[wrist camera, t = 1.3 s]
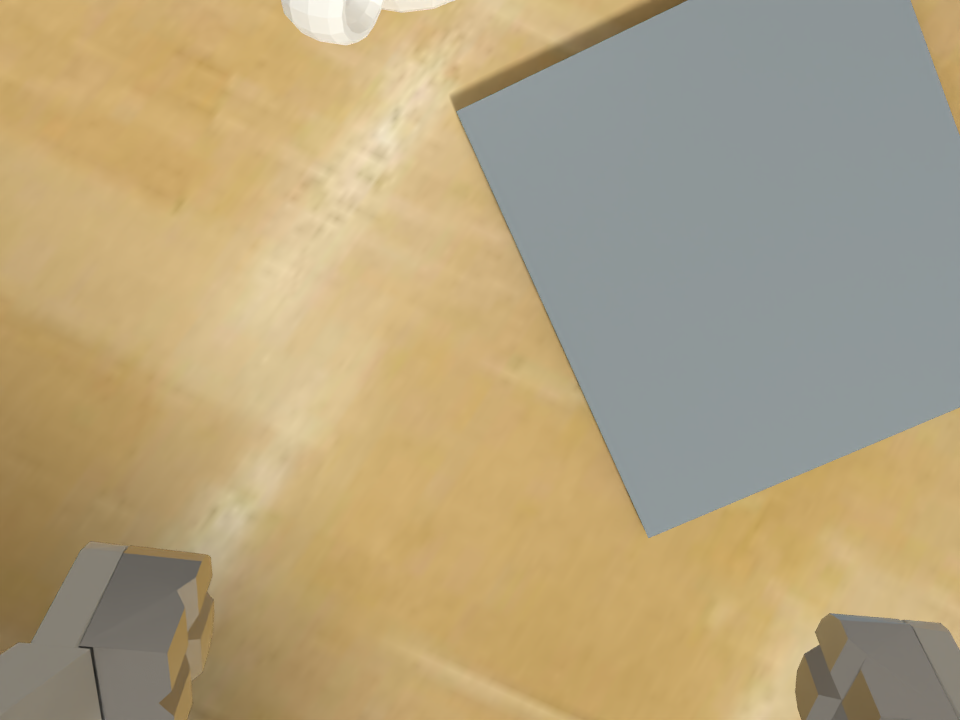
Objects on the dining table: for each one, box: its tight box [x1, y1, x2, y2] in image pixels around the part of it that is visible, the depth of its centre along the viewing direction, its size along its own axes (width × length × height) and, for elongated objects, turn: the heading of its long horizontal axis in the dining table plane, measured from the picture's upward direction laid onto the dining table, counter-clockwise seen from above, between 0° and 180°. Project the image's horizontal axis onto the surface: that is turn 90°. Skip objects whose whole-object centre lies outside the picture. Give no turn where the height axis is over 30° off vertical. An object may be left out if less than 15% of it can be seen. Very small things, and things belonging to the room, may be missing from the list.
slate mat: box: [456, 0, 960, 538], centre depth 37 cm, size 20×18×1 cm
